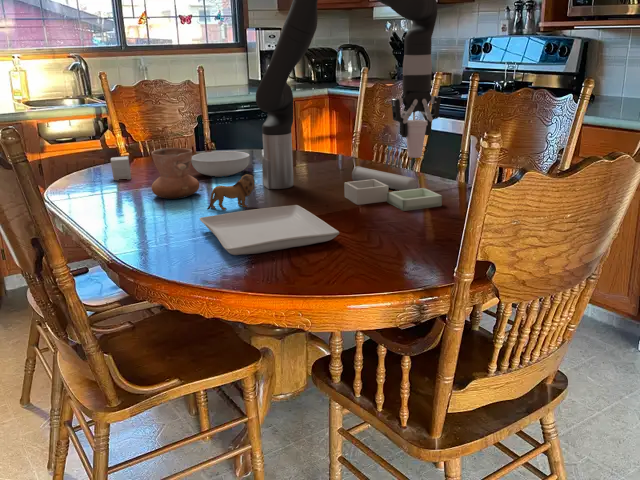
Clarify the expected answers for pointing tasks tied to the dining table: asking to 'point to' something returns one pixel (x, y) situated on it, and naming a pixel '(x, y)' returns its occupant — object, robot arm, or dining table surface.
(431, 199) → the tray
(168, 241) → the dining table surface
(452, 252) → the dining table surface
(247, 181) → the lion figurine
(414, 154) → the smoothie
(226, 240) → the square plate
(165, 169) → the ceramic jug
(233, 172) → the serving bowl
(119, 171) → the skincare box
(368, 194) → the hollow square frame
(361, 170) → the tube
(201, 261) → the dining table surface
